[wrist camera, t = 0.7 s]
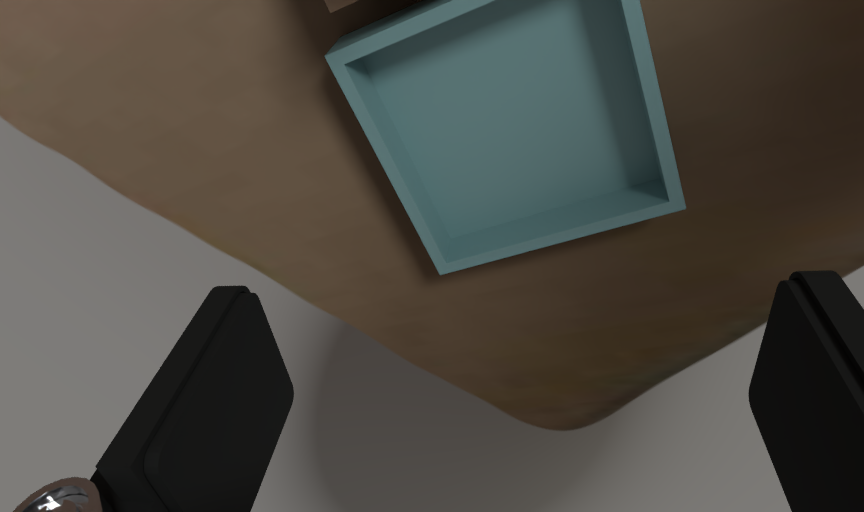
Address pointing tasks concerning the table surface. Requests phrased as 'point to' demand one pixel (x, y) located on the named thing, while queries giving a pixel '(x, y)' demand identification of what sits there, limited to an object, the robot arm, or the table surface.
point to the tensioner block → (337, 4)
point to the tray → (512, 121)
